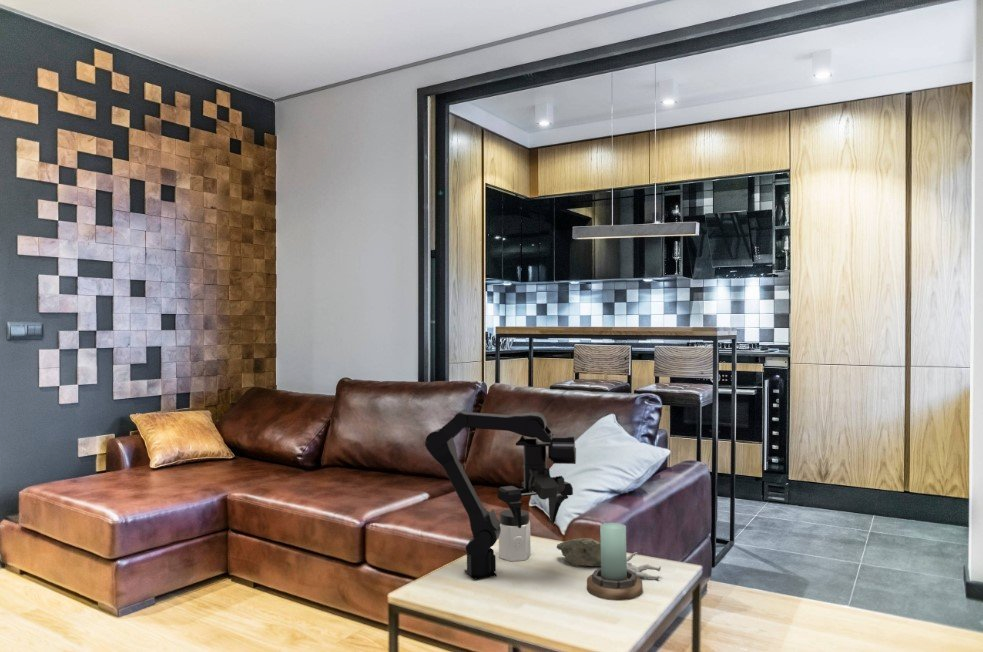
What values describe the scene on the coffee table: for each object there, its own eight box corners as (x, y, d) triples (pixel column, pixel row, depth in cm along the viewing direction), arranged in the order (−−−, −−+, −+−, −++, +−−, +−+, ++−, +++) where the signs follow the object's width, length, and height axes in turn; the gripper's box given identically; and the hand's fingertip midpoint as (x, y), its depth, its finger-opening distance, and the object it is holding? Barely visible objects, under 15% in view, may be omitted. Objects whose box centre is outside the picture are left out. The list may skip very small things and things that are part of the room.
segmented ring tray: (606, 604, 150) (606, 588, 150) (576, 584, 162) (576, 570, 162) (653, 594, 155) (653, 579, 155) (621, 576, 167) (621, 562, 167)
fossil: (592, 585, 171) (617, 562, 176) (585, 553, 167) (611, 531, 172) (553, 562, 181) (578, 542, 187) (546, 532, 178) (571, 512, 183)
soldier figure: (657, 589, 161) (609, 571, 163) (652, 596, 165) (605, 578, 167) (662, 560, 166) (616, 542, 168) (657, 568, 170) (612, 551, 172)
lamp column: (617, 587, 154) (615, 531, 154) (596, 581, 158) (595, 526, 159) (631, 580, 158) (630, 526, 158) (611, 574, 163) (610, 521, 163)
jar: (502, 562, 178) (501, 517, 179) (495, 553, 186) (495, 510, 187) (534, 559, 180) (533, 515, 180) (526, 550, 188) (526, 508, 188)
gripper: (515, 472, 156) (516, 539, 156) (583, 465, 164) (585, 529, 163) (496, 464, 167) (497, 527, 166) (561, 458, 174) (562, 518, 174)
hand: (536, 525), depth 167 cm, fingers open, 9 cm apart
